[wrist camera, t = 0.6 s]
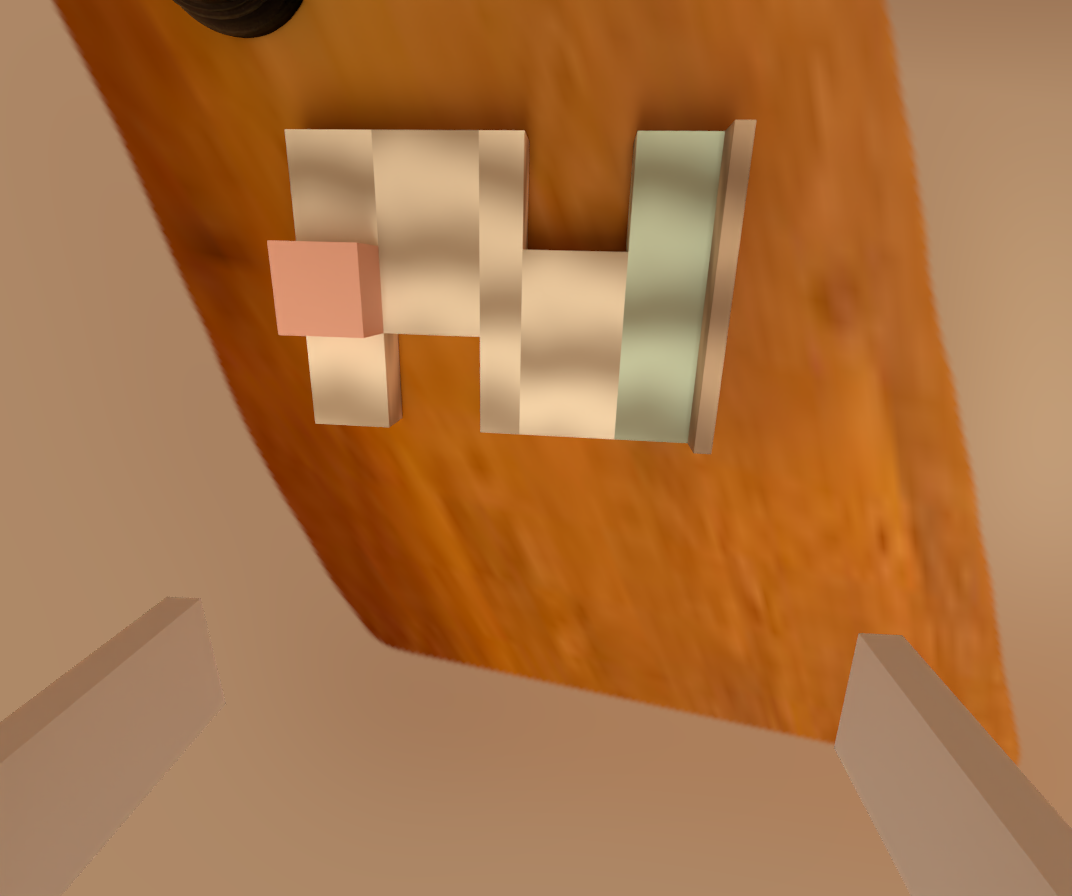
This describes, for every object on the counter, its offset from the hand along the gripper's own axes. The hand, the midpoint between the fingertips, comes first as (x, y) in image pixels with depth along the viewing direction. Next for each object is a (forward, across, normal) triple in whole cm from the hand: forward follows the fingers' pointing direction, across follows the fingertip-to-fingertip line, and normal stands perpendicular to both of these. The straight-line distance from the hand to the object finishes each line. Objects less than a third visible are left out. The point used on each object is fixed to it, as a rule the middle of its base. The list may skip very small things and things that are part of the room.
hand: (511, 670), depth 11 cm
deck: (+26, -4, +7) cm, 27 cm away
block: (+23, -14, +7) cm, 28 cm away
